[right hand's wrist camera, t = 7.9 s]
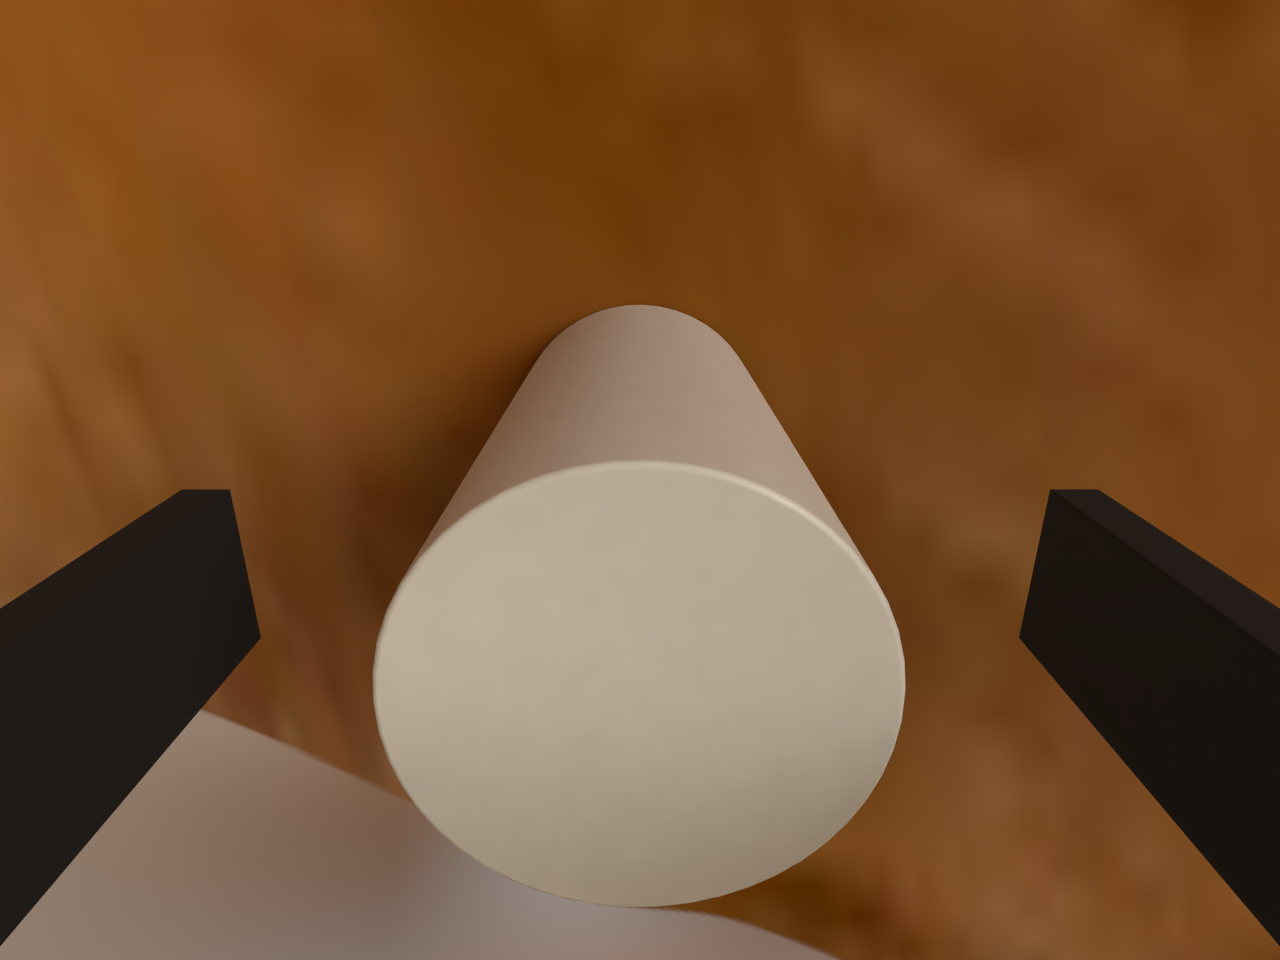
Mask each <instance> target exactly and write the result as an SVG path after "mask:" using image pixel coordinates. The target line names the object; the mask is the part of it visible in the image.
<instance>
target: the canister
mask: <svg viewBox="0 0 1280 960" xmlns="http://www.w3.org/2000/svg"><path fill="white" fill-rule="evenodd" d="M904 697H905V662H904V655H903V650H902V645H901V640H900V635H899V630H898V628H897V625H896V622H895V619H894V617H893V614H892V611H891V608H890V606H889V603H888V601H887V599H886V597H885V595H884V594H883V592H882V590H881V588H880V586H879V585H878V583H877V581H876V579H875V577H874V576H873V574H872V572H871V571H870V569H869V567H868V566H867V564H866V562H865V561H864V559H863V558H862V556H861V554H860V553H859V551H858V549H857V548H856V546H855V545H854V543H853V541H852V540H851V538H850V537H849V535H848V533H847V532H846V530H845V528H844V527H843V525H842V524H841V522H840V520H839V519H838V517H837V515H836V514H835V512H834V511H833V509H832V507H831V506H830V504H829V502H828V501H827V499H826V498H825V496H824V494H823V493H822V491H821V489H820V488H819V486H818V485H817V483H816V481H815V480H814V478H813V477H812V475H811V473H810V472H809V470H808V468H807V467H806V465H805V464H804V462H803V460H802V459H801V457H800V455H799V454H798V452H797V451H796V449H795V447H794V446H793V444H792V442H791V441H790V439H789V438H788V436H787V434H786V433H785V431H784V429H783V428H782V426H781V425H780V423H779V421H778V420H777V418H776V416H775V415H774V413H773V412H772V410H771V408H770V407H769V405H768V404H767V402H766V400H765V399H764V397H763V395H762V394H761V392H760V391H759V389H758V387H757V386H756V384H755V382H754V381H753V379H752V378H751V376H750V374H749V373H748V371H747V369H746V368H745V366H744V365H743V363H742V361H741V360H740V358H739V357H738V355H737V354H736V353H735V352H734V350H733V349H732V348H731V346H730V345H729V344H728V343H727V342H726V341H725V340H724V339H723V338H722V337H721V336H720V335H719V334H718V333H716V332H715V331H714V330H712V329H711V328H710V327H708V326H707V325H706V324H704V323H702V322H700V321H699V320H697V319H695V318H693V317H691V316H689V315H686V314H684V313H681V312H679V311H676V310H672V309H668V308H664V307H659V306H650V305H626V306H620V307H614V308H609V309H606V310H603V311H599V312H596V313H594V314H591V315H589V316H587V317H585V318H583V319H581V320H579V321H577V322H576V323H574V324H573V325H571V326H569V327H568V328H566V329H565V330H564V331H563V332H562V333H560V334H559V335H558V336H557V337H556V338H555V339H554V340H553V341H552V342H551V343H550V344H549V345H548V346H547V347H546V348H545V350H544V351H543V352H542V354H541V355H540V357H539V358H538V360H537V361H536V363H535V364H534V366H533V367H532V369H531V371H530V372H529V374H528V376H527V377H526V379H525V380H524V382H523V384H522V385H521V387H520V389H519V390H518V392H517V393H516V395H515V397H514V398H513V400H512V402H511V403H510V405H509V406H508V408H507V410H506V411H505V413H504V414H503V416H502V418H501V419H500V421H499V423H498V424H497V426H496V427H495V429H494V431H493V432H492V434H491V436H490V437H489V439H488V440H487V442H486V444H485V445H484V447H483V449H482V450H481V452H480V453H479V455H478V457H477V458H476V460H475V462H474V463H473V465H472V466H471V468H470V470H469V471H468V473H467V475H466V476H465V478H464V479H463V481H462V483H461V484H460V486H459V488H458V489H457V491H456V492H455V494H454V496H453V497H452V499H451V501H450V502H449V504H448V505H447V507H446V509H445V510H444V512H443V514H442V515H441V517H440V518H439V520H438V522H437V523H436V525H435V527H434V528H433V530H432V531H431V533H430V535H429V536H428V538H427V540H426V541H425V543H424V544H423V546H422V548H421V549H420V551H419V553H418V554H417V556H416V557H415V559H414V561H413V562H412V564H411V566H410V567H409V569H408V570H407V572H406V574H405V575H404V577H403V579H402V580H401V582H400V584H399V586H398V588H397V590H396V592H395V594H394V596H393V598H392V600H391V602H390V604H389V606H388V608H387V610H386V613H385V616H384V619H383V622H382V626H381V629H380V632H379V635H378V638H377V643H376V650H375V657H374V664H373V702H374V708H375V714H376V719H377V725H378V731H379V734H380V737H381V740H382V743H383V746H384V749H385V752H386V755H387V758H388V760H389V762H390V764H391V766H392V768H393V770H394V772H395V774H396V776H397V778H398V780H399V782H400V784H401V785H402V787H403V788H404V790H405V791H406V793H407V794H408V795H409V797H410V798H411V800H412V801H413V803H414V804H415V806H416V807H417V808H418V809H419V810H420V812H421V813H422V814H423V815H424V816H425V817H426V818H427V819H428V820H429V821H430V823H431V824H432V825H433V826H434V827H435V828H436V829H437V830H438V831H439V832H440V833H441V834H443V835H444V836H445V837H446V838H447V839H448V840H450V841H451V842H452V843H453V844H454V845H455V846H457V847H458V848H459V849H460V850H462V851H463V852H465V853H466V854H468V855H469V856H471V857H472V858H473V859H475V860H477V861H478V862H479V863H481V864H482V865H484V866H486V867H488V868H490V869H491V870H493V871H495V872H497V873H499V874H501V875H503V876H505V877H507V878H509V879H511V880H513V881H516V882H518V883H521V884H523V885H526V886H528V887H531V888H533V889H536V890H538V891H542V892H545V893H549V894H552V895H556V896H559V897H563V898H566V899H571V900H576V901H582V902H588V903H593V904H600V905H612V906H625V907H648V906H667V905H675V904H684V903H692V902H696V901H701V900H706V899H710V898H715V897H720V896H723V895H726V894H729V893H732V892H735V891H738V890H741V889H745V888H748V887H750V886H753V885H755V884H757V883H759V882H762V881H764V880H766V879H768V878H771V877H773V876H775V875H777V874H779V873H781V872H783V871H784V870H786V869H788V868H790V867H791V866H793V865H795V864H797V863H798V862H800V861H802V860H803V859H805V858H806V857H807V856H809V855H810V854H811V853H813V852H814V851H816V850H817V849H818V848H820V847H821V846H822V845H824V844H825V843H826V842H827V841H829V840H830V839H831V838H832V837H833V836H834V835H835V834H836V833H837V832H838V831H839V830H840V829H841V828H842V827H844V826H845V825H846V824H847V823H848V822H849V820H850V819H851V818H852V817H853V816H854V814H855V813H856V812H857V811H858V810H859V809H860V807H861V806H862V805H863V804H864V803H865V801H866V800H867V798H868V797H869V795H870V794H871V792H872V791H873V789H874V787H875V786H876V784H877V783H878V781H879V779H880V778H881V776H882V774H883V772H884V770H885V768H886V765H887V763H888V761H889V759H890V756H891V754H892V752H893V750H894V746H895V743H896V739H897V736H898V732H899V729H900V725H901V721H902V714H903V705H904Z"/></svg>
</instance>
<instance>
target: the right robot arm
mask: <svg viewBox="0 0 1280 960" xmlns="http://www.w3.org/2000/svg"><path fill="white" fill-rule="evenodd" d="M260 638H261V636H260V631H259V627H258V622H257V617H256V612H255V608H254V603H253V598H252V593H251V588H250V584H249V579H248V574H247V569H246V565H245V560H244V555H243V550H242V546H241V541H240V536H239V531H238V526H237V522H236V517H235V512H234V507H233V503H232V498H231V493H230V490H180V491H179V492H177V493H176V494H174V495H173V496H171V497H170V498H168V499H167V500H165V501H164V502H162V503H161V504H159V505H158V506H156V507H155V508H153V509H152V510H150V511H148V512H147V513H145V514H144V515H142V516H141V517H139V518H138V519H136V520H135V521H133V522H132V523H130V524H129V525H127V526H126V527H124V528H123V529H121V530H119V531H118V532H116V533H115V534H113V535H112V536H110V537H109V538H107V539H106V540H104V541H103V542H101V543H100V544H98V545H97V546H95V547H94V548H92V549H91V550H89V551H87V552H86V553H84V554H83V555H81V556H80V557H78V558H77V559H75V560H74V561H72V562H71V563H69V564H68V565H66V566H65V567H63V568H62V569H60V570H59V571H57V572H55V573H54V574H52V575H51V576H49V577H48V578H46V579H45V580H43V581H42V582H40V583H39V584H37V585H36V586H34V587H33V588H31V589H30V590H28V591H27V592H25V593H23V594H22V595H20V596H19V597H17V598H16V599H14V600H13V601H11V602H10V603H8V604H7V605H5V606H4V607H2V608H1V609H0V946H1V945H2V943H3V942H4V941H5V940H6V939H7V938H8V936H9V935H10V934H11V933H12V932H13V930H14V929H15V928H16V927H17V926H18V924H19V923H20V922H21V921H22V920H23V919H24V917H25V916H26V915H27V914H28V913H29V911H30V910H31V909H32V908H33V907H34V906H35V904H36V903H37V902H38V901H39V900H40V898H41V897H42V896H43V895H44V894H45V893H46V891H47V890H48V889H49V888H50V887H51V885H52V884H53V883H54V882H55V881H56V880H57V878H58V877H59V876H60V875H61V874H62V872H63V871H64V870H65V869H66V868H67V866H68V865H69V864H70V863H71V862H72V861H73V859H74V858H75V857H76V856H77V855H78V853H79V852H80V851H81V850H82V849H83V848H84V846H85V845H86V844H87V843H88V842H89V840H90V839H91V838H92V837H93V836H94V835H95V833H96V832H97V831H98V830H99V829H100V827H101V826H102V825H103V824H104V823H105V822H106V820H107V819H108V818H109V817H110V816H111V814H112V813H113V812H114V811H115V810H116V809H117V807H118V806H119V805H120V804H121V803H122V801H123V800H124V799H125V798H126V797H127V796H128V794H129V793H130V792H131V791H132V790H133V788H134V787H135V786H136V785H137V784H138V782H139V781H140V780H141V779H142V778H143V777H144V775H145V774H146V773H147V772H148V771H149V769H150V768H151V767H152V766H153V765H154V764H155V762H156V761H157V760H158V759H159V758H160V756H161V755H162V754H163V753H164V752H165V750H166V749H167V748H168V747H169V746H170V745H171V743H172V742H173V741H174V740H175V739H176V738H177V736H178V735H179V734H180V733H181V732H182V730H183V729H184V728H185V727H186V726H187V724H188V723H189V722H190V721H191V720H192V719H193V717H194V716H195V715H196V714H197V713H198V711H199V710H200V709H201V708H202V707H203V706H204V704H205V703H206V702H207V701H208V700H209V698H210V697H211V696H212V695H213V694H214V693H215V691H216V690H217V689H218V688H219V687H220V685H221V684H222V683H223V682H224V681H225V680H226V678H227V677H228V676H229V675H230V674H231V672H232V671H233V670H234V669H235V668H236V667H237V665H238V664H239V663H240V662H241V661H242V659H243V658H244V657H245V656H246V655H247V653H248V652H249V651H250V650H251V649H252V648H253V646H254V645H255V644H256V643H257V642H258V640H259V639H260ZM1019 638H1020V639H1021V640H1022V642H1023V643H1024V644H1025V645H1026V646H1027V648H1028V649H1029V650H1030V651H1031V652H1032V653H1033V655H1034V656H1035V657H1036V658H1037V659H1038V661H1039V662H1040V663H1041V664H1042V665H1043V667H1044V668H1045V669H1046V670H1047V671H1048V672H1049V674H1050V675H1051V676H1052V677H1053V678H1054V680H1055V681H1056V682H1057V683H1058V684H1059V685H1060V687H1061V688H1062V689H1063V690H1064V691H1065V693H1066V694H1067V695H1068V696H1069V697H1070V698H1071V700H1072V701H1073V702H1074V703H1075V704H1076V706H1077V707H1078V708H1079V709H1080V710H1081V711H1082V713H1083V714H1084V715H1085V716H1086V717H1087V719H1088V720H1089V721H1090V722H1091V723H1092V724H1093V726H1094V727H1095V728H1096V729H1097V730H1098V732H1099V733H1100V734H1101V735H1102V736H1103V738H1104V739H1105V740H1106V741H1107V742H1108V743H1109V745H1110V746H1111V747H1112V748H1113V749H1114V751H1115V752H1116V753H1117V754H1118V755H1119V756H1120V758H1121V759H1122V760H1123V761H1124V762H1125V764H1126V765H1127V766H1128V767H1129V768H1130V769H1131V771H1132V772H1133V773H1134V774H1135V775H1136V777H1137V778H1138V779H1139V780H1140V781H1141V782H1142V784H1143V785H1144V786H1145V787H1146V788H1147V790H1148V791H1149V792H1150V793H1151V794H1152V796H1153V797H1154V798H1155V799H1156V800H1157V801H1158V803H1159V804H1160V805H1161V806H1162V807H1163V809H1164V810H1165V811H1166V812H1167V813H1168V814H1169V816H1170V817H1171V818H1172V819H1173V820H1174V822H1175V823H1176V824H1177V825H1178V826H1179V827H1180V829H1181V830H1182V831H1183V832H1184V833H1185V835H1186V836H1187V837H1188V838H1189V839H1190V840H1191V842H1192V843H1193V844H1194V845H1195V846H1196V848H1197V849H1198V850H1199V851H1200V852H1201V853H1202V855H1203V856H1204V857H1205V858H1206V859H1207V861H1208V862H1209V863H1210V864H1211V865H1212V867H1213V868H1214V869H1215V870H1216V871H1217V872H1218V874H1219V875H1220V876H1221V877H1222V878H1223V880H1224V881H1225V882H1226V883H1227V884H1228V885H1229V887H1230V888H1231V889H1232V890H1233V891H1234V893H1235V894H1236V895H1237V896H1238V897H1239V898H1240V900H1241V901H1242V902H1243V903H1244V904H1245V906H1246V907H1247V908H1248V909H1249V910H1250V911H1251V913H1252V914H1253V915H1254V916H1255V917H1256V919H1257V920H1258V921H1259V922H1260V923H1261V924H1262V926H1263V927H1264V928H1265V929H1266V930H1267V932H1268V933H1269V934H1270V935H1271V936H1272V938H1273V939H1274V940H1275V941H1276V942H1277V943H1278V945H1279V946H1280V609H1279V608H1278V607H1276V606H1275V605H1273V604H1272V603H1270V602H1269V601H1267V600H1266V599H1264V598H1263V597H1261V596H1260V595H1258V594H1257V593H1255V592H1253V591H1252V590H1250V589H1249V588H1247V587H1246V586H1244V585H1243V584H1241V583H1240V582H1238V581H1237V580H1235V579H1234V578H1232V577H1231V576H1229V575H1228V574H1226V573H1225V572H1223V571H1221V570H1220V569H1218V568H1217V567H1215V566H1214V565H1212V564H1211V563H1209V562H1208V561H1206V560H1205V559H1203V558H1202V557H1200V556H1199V555H1197V554H1196V553H1194V552H1193V551H1191V550H1189V549H1188V548H1186V547H1185V546H1183V545H1182V544H1180V543H1179V542H1177V541H1176V540H1174V539H1173V538H1171V537H1170V536H1168V535H1167V534H1165V533H1164V532H1162V531H1161V530H1159V529H1157V528H1156V527H1154V526H1153V525H1151V524H1150V523H1148V522H1147V521H1145V520H1144V519H1142V518H1141V517H1139V516H1138V515H1136V514H1135V513H1133V512H1132V511H1130V510H1128V509H1127V508H1125V507H1124V506H1122V505H1121V504H1119V503H1118V502H1116V501H1115V500H1113V499H1112V498H1110V497H1109V496H1107V495H1106V494H1104V493H1103V492H1101V491H1100V490H1050V493H1049V498H1048V503H1047V507H1046V512H1045V517H1044V522H1043V526H1042V531H1041V536H1040V541H1039V546H1038V550H1037V555H1036V560H1035V565H1034V569H1033V574H1032V579H1031V584H1030V588H1029V593H1028V598H1027V603H1026V608H1025V612H1024V617H1023V622H1022V627H1021V631H1020V636H1019Z"/></svg>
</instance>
